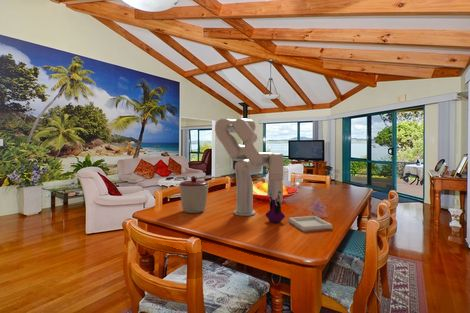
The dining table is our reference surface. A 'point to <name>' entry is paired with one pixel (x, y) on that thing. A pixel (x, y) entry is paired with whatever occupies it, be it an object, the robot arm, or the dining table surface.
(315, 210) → the lily
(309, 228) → the tray
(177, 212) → the dining table surface
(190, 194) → the canister
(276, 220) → the perfume bottle
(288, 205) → the dining table surface
